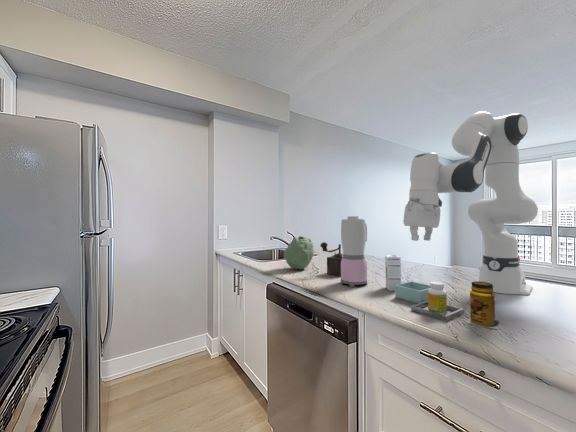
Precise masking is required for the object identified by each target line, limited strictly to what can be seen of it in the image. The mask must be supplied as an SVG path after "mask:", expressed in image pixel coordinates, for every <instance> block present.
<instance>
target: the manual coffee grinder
mask: <svg viewBox="0 0 576 432" xmlns="http://www.w3.org/2000/svg"><path fill="white" fill-rule="evenodd" d="M319 246H320V248H322V252H327V253H333V252H334V253H333V254H334V255H330V256H327V257H326V274H327V275H329V276H334V277H338V278H339V277H340V278H341V260H342V258H343V253H341V248H342V243H341V244H338V247H337V248H336V249H335V248H334V249H332V250H331V249H330V250H328V243H327V242H326V241H325V242H324V241H323V242H321V243H320V245H319ZM337 251H338V253H336V252H337Z"/></svg>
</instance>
